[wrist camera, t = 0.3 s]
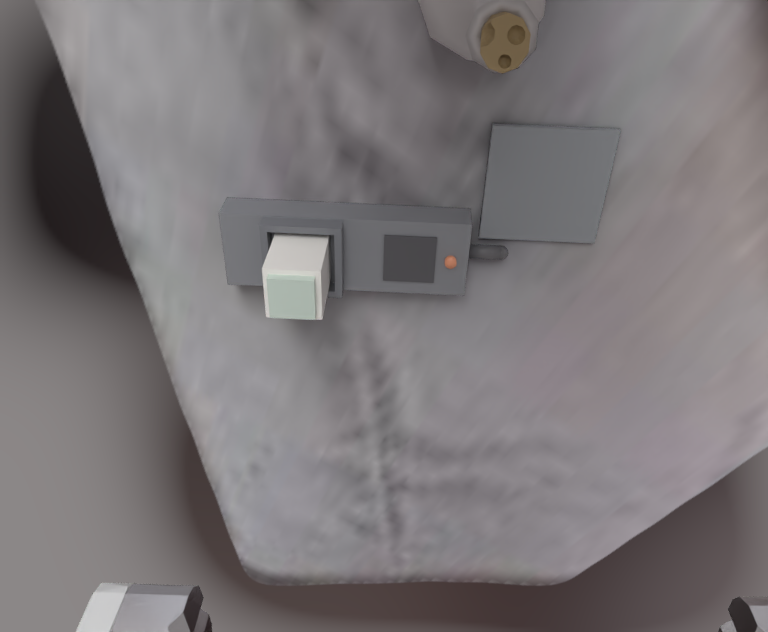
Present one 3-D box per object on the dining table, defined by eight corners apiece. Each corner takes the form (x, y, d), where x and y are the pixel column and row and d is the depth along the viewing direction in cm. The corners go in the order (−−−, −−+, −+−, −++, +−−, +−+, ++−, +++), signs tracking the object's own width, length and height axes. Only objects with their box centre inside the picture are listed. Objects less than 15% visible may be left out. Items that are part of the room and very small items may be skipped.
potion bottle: (401, 24, 49) (393, 100, 35) (447, -111, 44) (460, -88, 30) (510, 65, 51) (546, 156, 36) (566, -61, 46) (635, -15, 31)
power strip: (227, 197, 58) (214, 221, 54) (512, 210, 58) (518, 235, 54) (235, 267, 62) (223, 293, 58) (501, 279, 62) (506, 307, 58)
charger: (276, 229, 56) (259, 273, 50) (330, 231, 56) (319, 276, 50) (279, 274, 59) (264, 322, 53) (331, 277, 59) (321, 325, 53)
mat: (492, 123, 53) (493, 125, 53) (619, 128, 53) (620, 131, 53) (478, 234, 59) (479, 238, 59) (592, 240, 59) (594, 243, 58)
